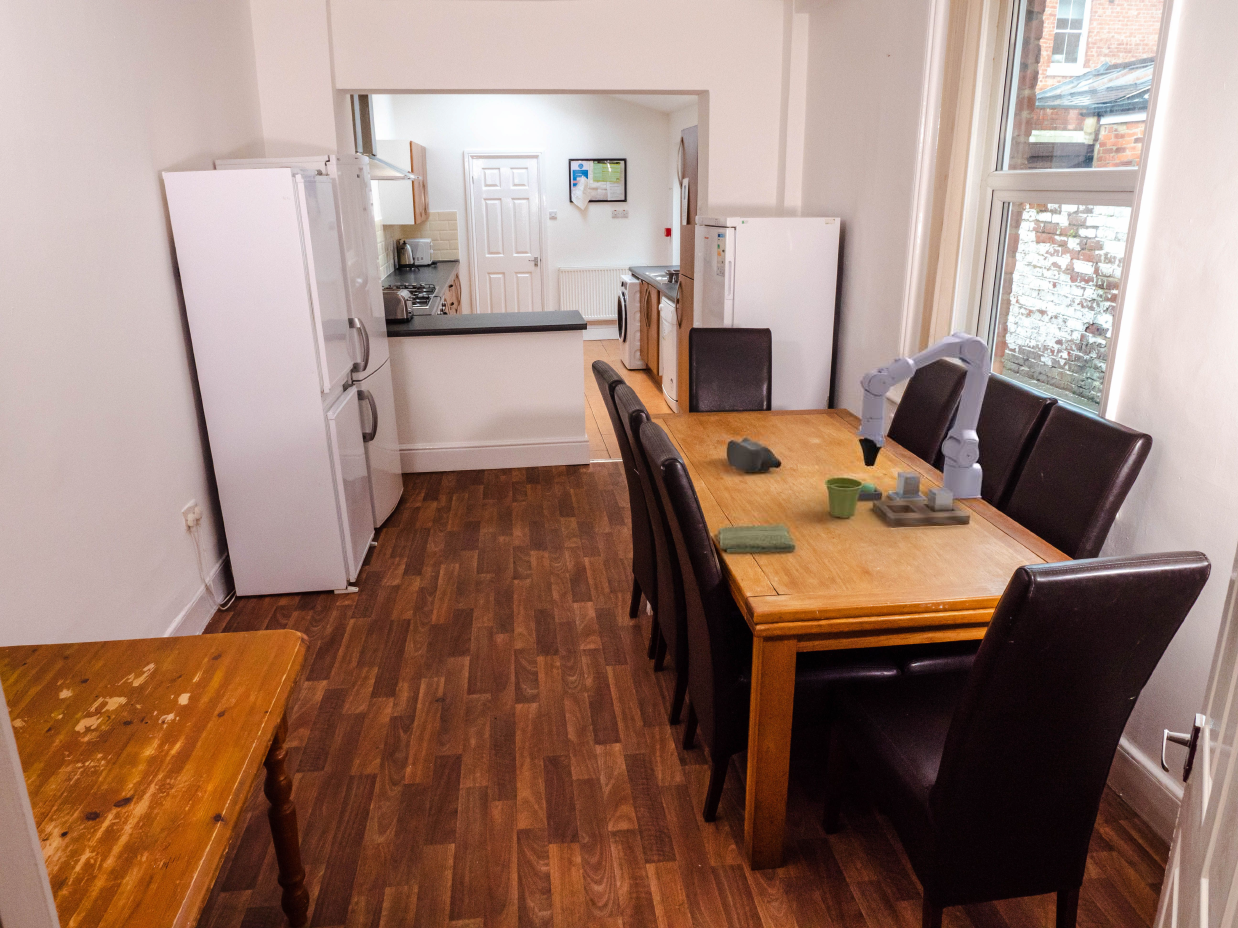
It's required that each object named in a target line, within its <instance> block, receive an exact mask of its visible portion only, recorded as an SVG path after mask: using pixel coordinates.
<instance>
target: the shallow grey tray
mask: <svg viewBox="0 0 1238 928" xmlns="http://www.w3.org/2000/svg"><path fill="white" fill-rule="evenodd" d="M887 497H889V498H890V499H891V501H896V500H923V499H928V497H926V496H924V495H923V494H922V493H921V492H919V498H915V499H898V498H897V497H896V490H893V491H891V490H890V491H887Z"/></svg>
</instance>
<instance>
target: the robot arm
mask: <svg viewBox="0 0 1238 928" xmlns="http://www.w3.org/2000/svg"><path fill="white" fill-rule="evenodd" d="M988 351H989V345H988V344H987V343H986V342H985V340H983V339H982V338H981V337H978V336H973V335H970V334H968V333H965V332H962V331H957V332H954V333H952V334H951V335H947V336H945V337H943V338H942V339H940V340H939V341H937V342H936V343H934V344H933V345H931V346H929V347H927V348H926V349H923V350H922V351H921V352H917V354H915V355H913V356H912V357H909V358H908V357H906V356H902V357H899V356H897V357H895V358H894V359H893V360H894V361H892V362H890V363H888V364H885V365H884V366H881V365H880V366H878V367H877V370H869V371H867V372H866V373H864V376H862V379H861V380H860V386H861V389H862V390H863V398H862V406H861V407H862V408H861V411H862V412H861V421H860V423H861V425H859V426H858V431H857V432H856V436H857V437H862V438H858V442H859V445H860V447H861V450H862V457H863V461H864V466H866V467H875V465H876V461H877V458H878V456H879V453H880V452H881V449H882V448H884V447H885V446H886V442H887V441H886V439H885V434H884V426H885V425H884V424H885V423H884V422H885V413H886V412H885V411H886V398H887V397H886V396H887V394H888V393H889V391H890V390H891V388H892V387H894V386H897V385H898V384H901V383H902V382H904V381H906V380H908V379H910V378H913V377H914V375H915V372H916V370H918V369H921V368H923V367H925V366H927V365H930V364H931V363H934V362H936V361H938V360H941V359H943V358H951V359H958V360H959V361H960V362H961V363H962V364H963V365H964V367H965V368H966V369H967V372H966V376H965V381H964V386H963V389H962V393H961V398H960V402H959V406H958V409H957V410H958V411H957V413H956V418H955V424H954V426H953V427H952V428H951V429H950V430H949V431H948V434H947V437H946V438H945V439H944V440H943V442H942V445H941V452H942V454H943V455H944V465H943V477H942V485H941V486H942V487H941V488H947V489H948V490H950V491H951V492H952V493H953V500H954V499H975V498H981V499H982V496H981V491H982V480H983V470H982V467H981V465H980V464H979V463H977V461H978V459H979V457H980V455H979V454H980V451H979V442H980V441H979V438H978V434H977V431H976V430H977V427H978V423H979V418H980V414H981V410H982V405H983V401H984V397H985V393H986V390H987V385H988V382H989V377H990V373H991V369H992V364H991V363H992V362H991V360H990V356H989V353H988Z"/></svg>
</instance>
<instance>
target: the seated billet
mask: <svg viewBox="0 0 1238 928" xmlns="http://www.w3.org/2000/svg"><path fill="white" fill-rule="evenodd" d="M927 499H928V504H927V508H929V509H930V510H931V511H932V512H945V511H952V503H953V500H954V499H953V493H952V492H951V491H950V490H948V489H947V488H942V487H930V488H928V495H927Z"/></svg>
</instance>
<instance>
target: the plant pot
mask: <svg viewBox="0 0 1238 928" xmlns="http://www.w3.org/2000/svg"><path fill="white" fill-rule="evenodd" d="M824 484H825V486H826V490H827V492H828V493H827V494H828V502H829V514H830V516H832V517H834V518H840V519H850V518H851V517H853V516H855V513H856V508H857V503H858V500H859V499H858V495H859V492H860V490H861V487H862V486H863V482H862V481H861V480H859V479H856V478H850V477H832V478H827V479H826V480H825V481H824Z"/></svg>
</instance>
